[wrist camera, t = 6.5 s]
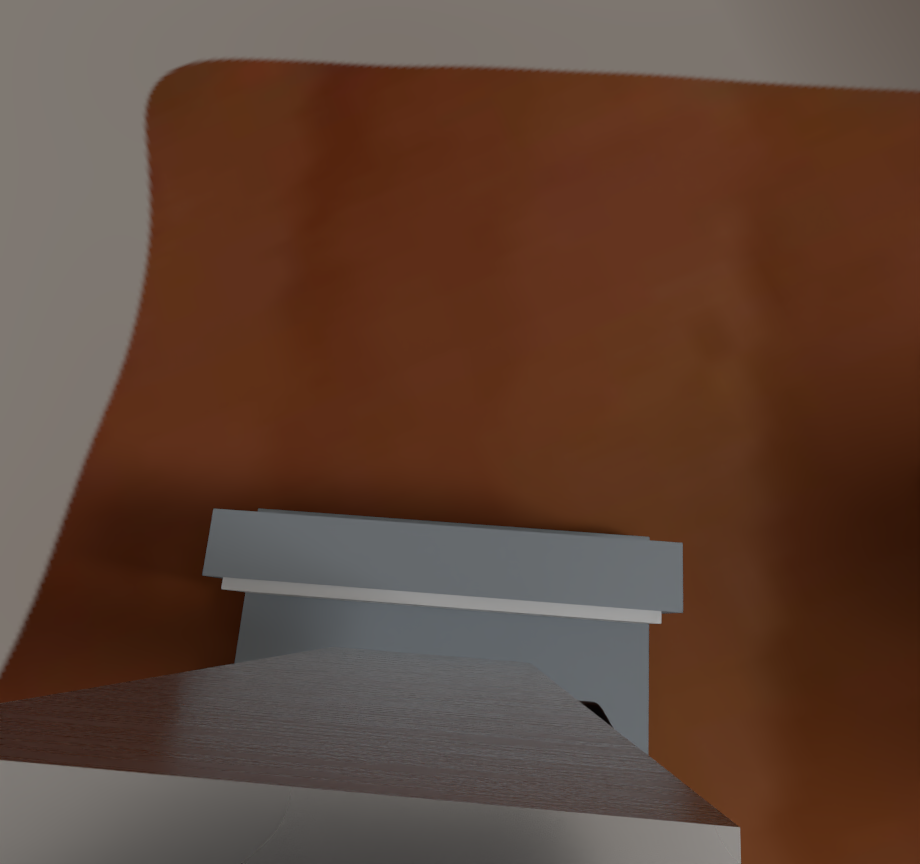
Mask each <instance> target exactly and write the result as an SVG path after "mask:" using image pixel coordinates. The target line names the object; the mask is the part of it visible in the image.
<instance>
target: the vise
mask: <svg viewBox="0 0 920 864" xmlns="http://www.w3.org/2000/svg"><path fill="white" fill-rule="evenodd" d="M202 575H203V576H209V577H216V578H222V579H223V580H222V587H221V589H224V590H232V591H241V592H245V598H244V605H243V611H242V618H241V624H240V631H239V637H238V644H237V650H236V657H235V663H241V662H246V661H252V660H258V659H264V658H270V657H276V656H282V655H287V654H293V653H299V652H305V651H311V650H317V649H323V648H328V647H343V648H355V649H367V650H380V651H392V652H404V653H416V654H429V655H441V656H453V657H465V658H478V659H490V660H502V661H514V662H526V663H531V664H532V665H533V666H535V667H536V668H537V669H539V670H540V671H541V672H542V673H544V674H545V675H546V676H547V677H549V678H550V679H551V680H553V681H554V682H555V683H556V684H558V685H559V686H560V687H561V688H563V689H564V690H565V691H567V692H568V693H569V694H570V695H572V696H573V697H574V698H576V699H577V700H579V701H591V702H596V703H597V704H599V705H600V706H601V708H602V709H603V711H604V713H605V714H606V716H607V718H608V719H609V721H610V723H611V725H612V726H613V728H614V729H615V730H616V731H618V732H619V733H620V734H621V735H623V736H624V737H625V738H627V739H628V740H629V741H630V742H632V743H633V744H634V745H635V746H637V747H638V748H639V749H641V750H642V751H643V752H644V753H646V754H647V755H648V702H649V624H661V613H683V543H677V542H663V541H649V537H642V536H628V535H614V534H601V533H587V532H573V531H560V530H546V529H532V528H519V527H505V526H491V525H478V524H464V523H450V522H437V521H423V520H409V519H396V518H382V517H368V516H355V515H341V514H327V513H314V512H300V511H286V510H273V509H259V508H258V512H254V511H240V510H227V509H213V515H212V521H211V526H210V532H209V538H208V544H207V550H206V556H205V562H204V568H203V573H202Z"/></svg>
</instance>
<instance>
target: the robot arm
mask: <svg viewBox="0 0 920 864" xmlns="http://www.w3.org/2000/svg"><path fill="white" fill-rule="evenodd" d="M199 670H200V669H199ZM578 701H579V700H578ZM579 702H581V703H582V704H583V705H584V706H586V707H587V708H588V709H590V710H591V711H592V712H593V713H595V714H596V715H597V716H598V717H600V718H601V719H602V720H604V721H605V722H606V723H607V724H609V725H610V726H611V727H613V726H612V725H611V723H610V721H609V719H608V718H607V716H606V714H605V713H604V711H603V709H602V708H601V706H600V705H599V704H597V703H596V702H591V701H579Z"/></svg>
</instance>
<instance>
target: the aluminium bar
mask: <svg viewBox="0 0 920 864" xmlns="http://www.w3.org/2000/svg"><path fill="white" fill-rule="evenodd" d="M0 864H741V846H740V827H739V826H738V825H736V824H735V823H734V822H732V821H731V820H730V819H729V818H727V817H726V816H725V815H724V814H722V813H721V812H720V811H718V810H717V809H716V808H715V807H713V806H712V805H711V804H709V803H708V802H707V801H706V800H704V799H703V798H702V797H701V796H699V795H698V794H697V793H695V792H694V791H693V790H692V789H690V788H689V787H688V786H687V785H685V784H684V783H683V782H681V781H680V780H679V779H678V778H676V777H675V776H674V775H672V774H671V773H670V772H669V771H667V770H666V769H665V768H664V767H662V766H661V765H660V764H658V763H657V762H656V761H655V760H653V759H652V758H651V757H650V756H648V755H647V754H646V753H644V752H643V751H642V750H641V749H639V748H638V747H637V746H635V745H634V744H633V743H632V742H630V741H629V740H628V739H627V738H625V737H624V736H623V735H621V734H620V733H619V732H618V731H616V730H615V729H614V728H613V727H611V726H610V725H609V724H607V723H606V722H605V721H604V720H602V719H601V718H600V717H598V716H597V715H596V714H595V713H593V712H592V711H591V710H590V709H588V708H587V707H586V706H584V705H583V704H582V703H581V702H579V701H578V700H577V699H576V698H574V697H573V696H572V695H570V694H569V693H568V692H567V691H565V690H564V689H563V688H561V687H560V686H559V685H558V684H556V683H555V682H554V681H553V680H551V679H550V678H549V677H547V676H546V675H545V674H544V673H542V672H541V671H540V670H539V669H537V668H536V667H535V666H533V665H532V664H531V663H526V662H514V661H502V660H490V659H478V658H465V657H453V656H441V655H429V654H416V653H404V652H392V651H380V650H367V649H355V648H343V647H328V648H323V649H317V650H311V651H305V652H299V653H293V654H287V655H282V656H276V657H270V658H264V659H258V660H252V661H246V662H241V663H235V664H229V665H223V666H217V667H211V668H206V669H200V670H194V671H188V672H182V673H176V674H170V675H165V676H159V677H153V678H147V679H141V680H135V681H129V682H124V683H118V684H112V685H106V686H100V687H94V688H88V689H83V690H77V691H71V692H65V693H59V694H53V695H48V696H42V697H36V698H30V699H24V700H18V701H12V702H7V703H1V704H0Z"/></svg>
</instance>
